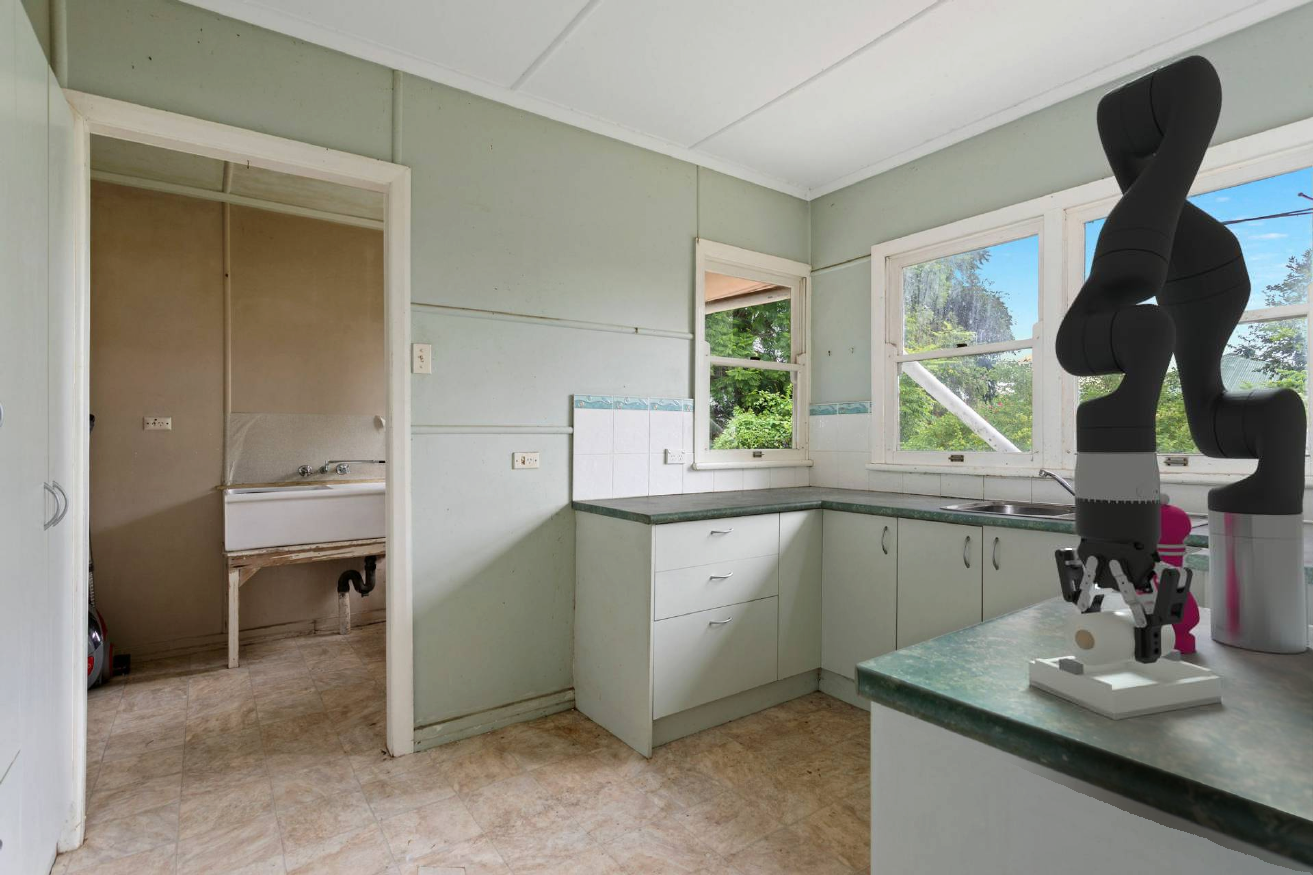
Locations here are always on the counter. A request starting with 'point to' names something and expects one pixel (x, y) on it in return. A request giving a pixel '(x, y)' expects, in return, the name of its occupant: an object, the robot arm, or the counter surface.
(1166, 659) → the holder
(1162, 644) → the paper roll
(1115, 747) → the counter surface
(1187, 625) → the pepper mill
